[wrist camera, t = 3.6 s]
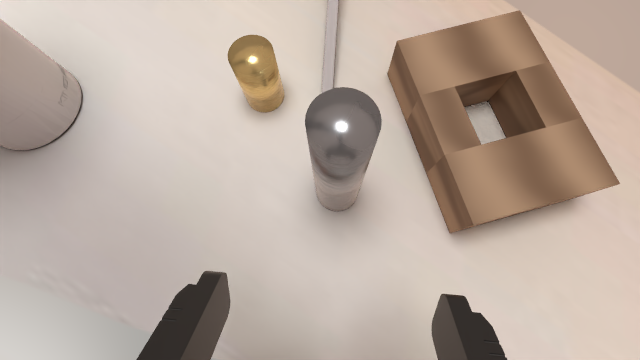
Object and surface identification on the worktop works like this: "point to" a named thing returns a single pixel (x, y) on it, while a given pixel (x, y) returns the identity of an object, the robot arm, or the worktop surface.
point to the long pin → (341, 143)
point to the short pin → (257, 72)
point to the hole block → (512, 113)
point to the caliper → (330, 45)
